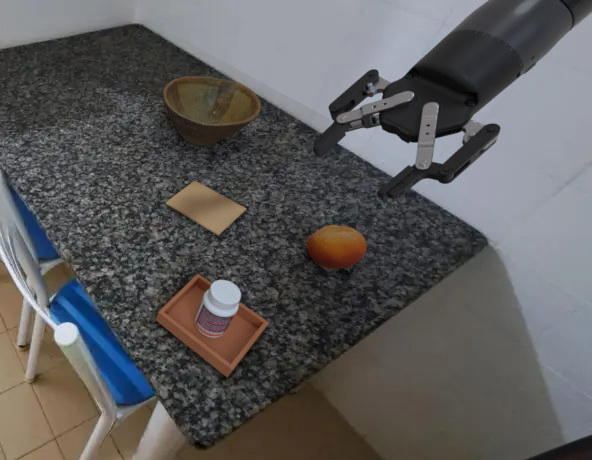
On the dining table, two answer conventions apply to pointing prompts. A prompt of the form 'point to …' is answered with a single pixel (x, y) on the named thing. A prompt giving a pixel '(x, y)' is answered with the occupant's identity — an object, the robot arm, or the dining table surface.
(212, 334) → the pill bottle
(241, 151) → the dining table surface
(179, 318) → the tray
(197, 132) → the bowl
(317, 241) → the fruit
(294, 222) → the dining table surface
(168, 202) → the mat
